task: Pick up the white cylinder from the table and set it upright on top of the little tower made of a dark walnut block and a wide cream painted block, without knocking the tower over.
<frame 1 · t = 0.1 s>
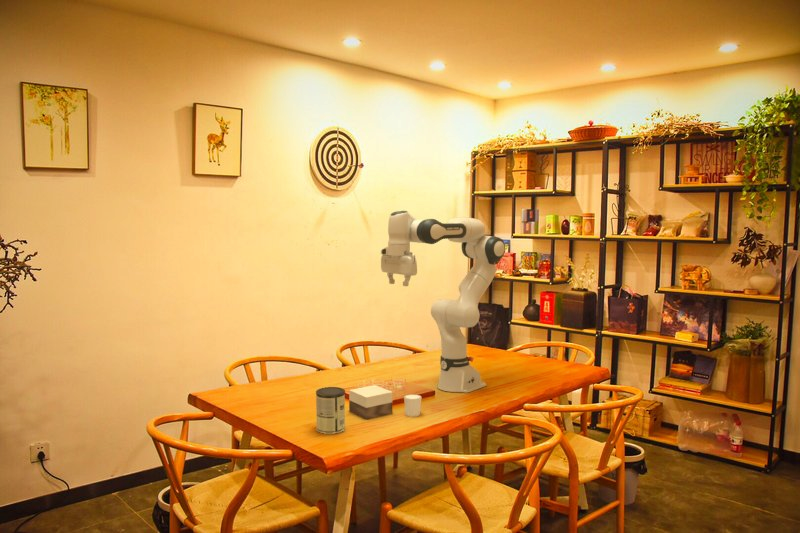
hand: (398, 285, 252), 48 cm above the table, tool pointing down, fingers open, 8 cm apart
walnut base block: (370, 413, 240), on the table, touching cream top block
coffee can: (330, 429, 221), on the table
white cylinder: (412, 414, 238), on the table
cream top block: (370, 401, 239), point 5 cm above the table, touching walnut base block
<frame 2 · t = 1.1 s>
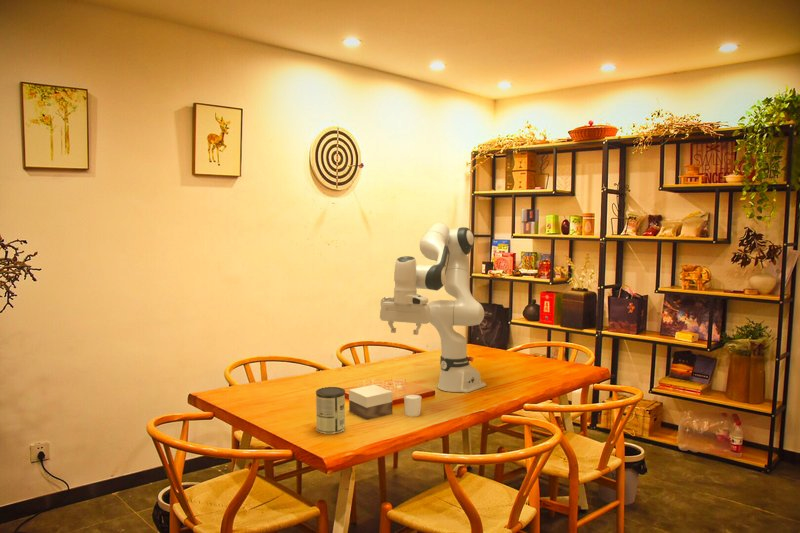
hand: (404, 333, 242), 30 cm above the table, tool pointing down, fingers open, 8 cm apart
nothing on the table moved.
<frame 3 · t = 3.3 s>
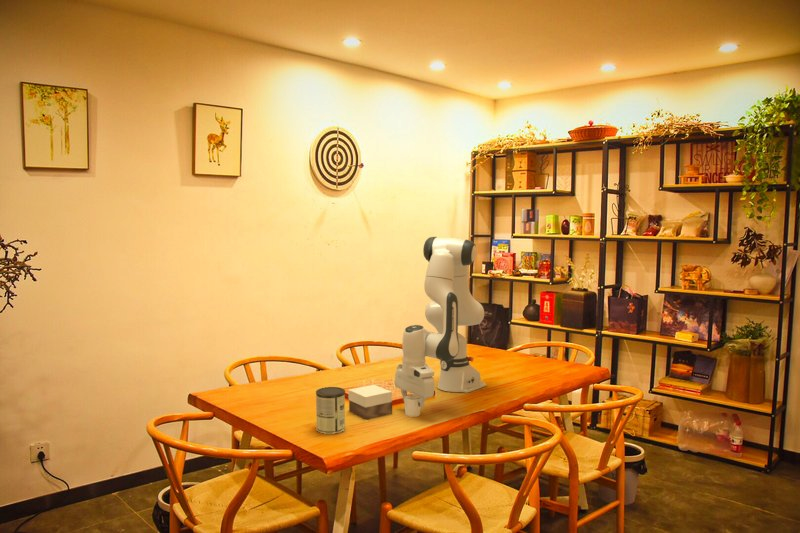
hand: (413, 403, 237), 4 cm above the table, tool pointing down, fingers open, 8 cm apart
nothing on the table moved.
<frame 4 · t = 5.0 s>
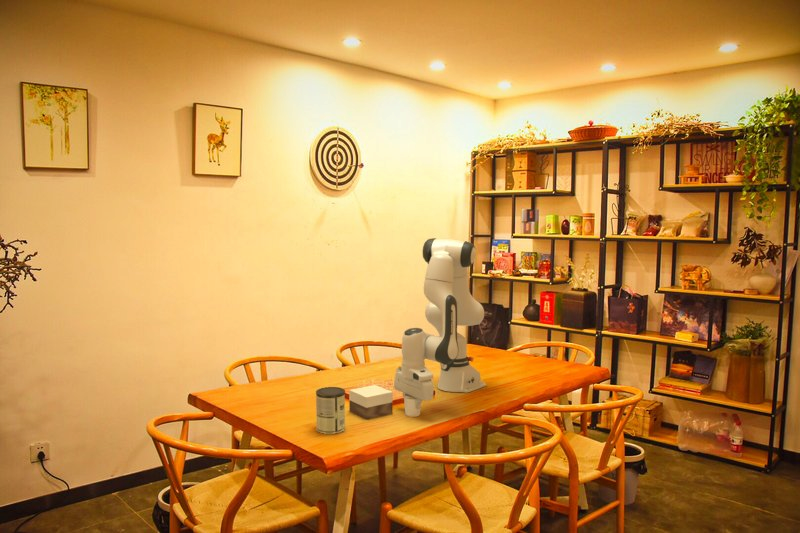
hand: (412, 406, 238), 3 cm above the table, tool pointing down, fingers closed on white cylinder, 5 cm apart
white cylinder: (412, 414, 238), on the table, touching gripper
everything else where it was.
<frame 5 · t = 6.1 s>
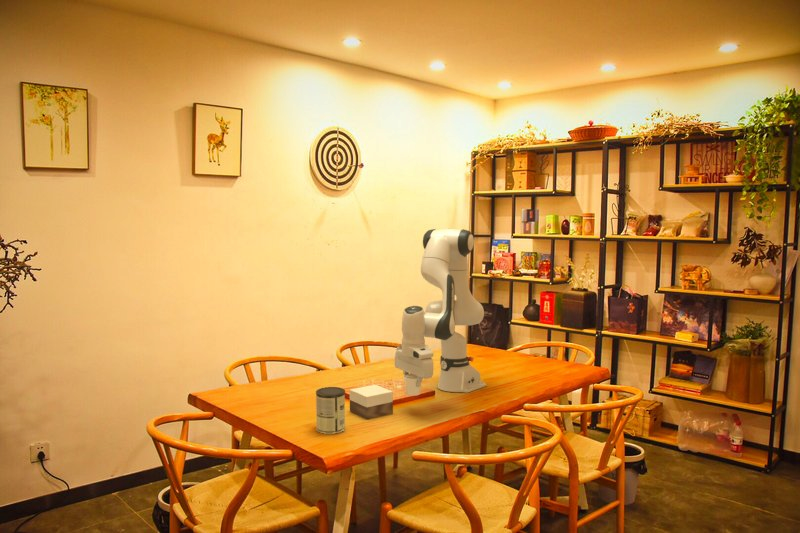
hand: (412, 384, 238), 12 cm above the table, tool pointing down, fingers closed on white cylinder, 5 cm apart
white cylinder: (412, 393, 238), point 8 cm above the table, touching gripper
everything else where it was.
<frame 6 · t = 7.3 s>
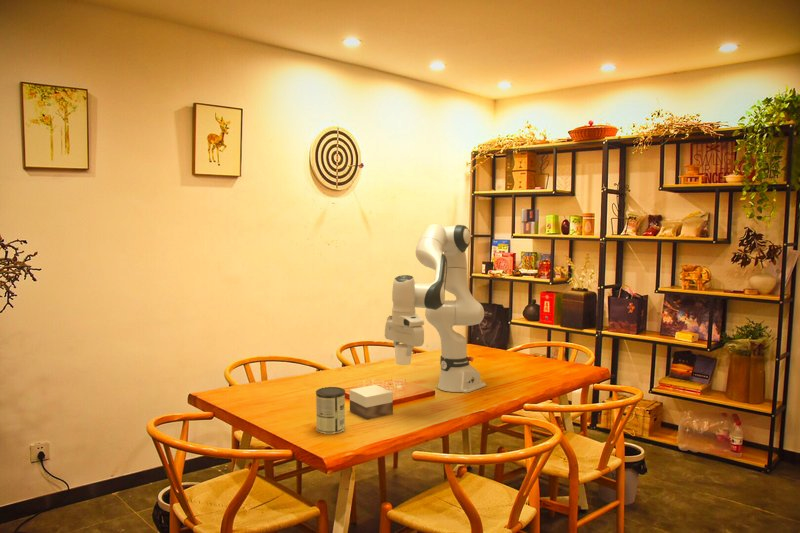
hand: (403, 354, 236), 23 cm above the table, tool pointing down, fingers closed on white cylinder, 5 cm apart
white cylinder: (403, 363, 236), point 20 cm above the table, touching gripper
everything else where it was.
when the fingers open (13 cm above the table, at t = 11.9 s): white cylinder stays where it is, resting on cream top block.
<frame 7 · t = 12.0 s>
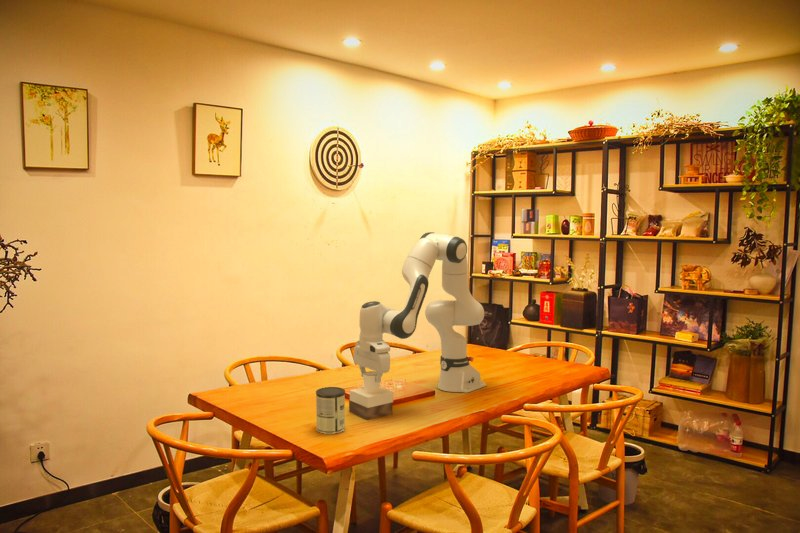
hand: (370, 379, 239), 13 cm above the table, tool pointing down, fingers open, 8 cm apart
white cylinder: (371, 391, 239), point 8 cm above the table, touching cream top block
cream top block: (371, 401, 239), point 5 cm above the table, touching white cylinder, walnut base block
everything else where it was.
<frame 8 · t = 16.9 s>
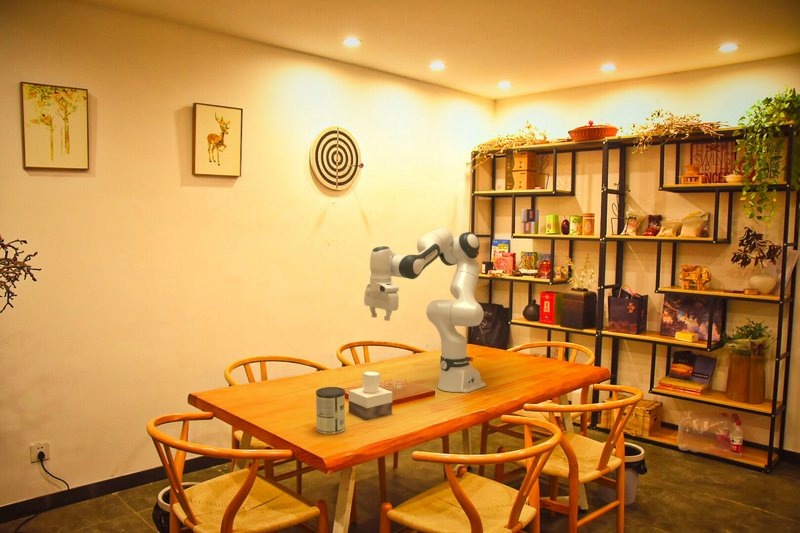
hand: (380, 318, 258), 33 cm above the table, tool pointing down, fingers open, 8 cm apart
nothing on the table moved.
at the end: white cylinder inside the target area on the cream top block (0.1 cm from its centre), point 4.0 cm above the cream top block's base; cream top block 0.2 cm off-centre on the walnut base block, point 5.0 cm above the walnut base block's base; white cylinder tilted 3° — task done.
